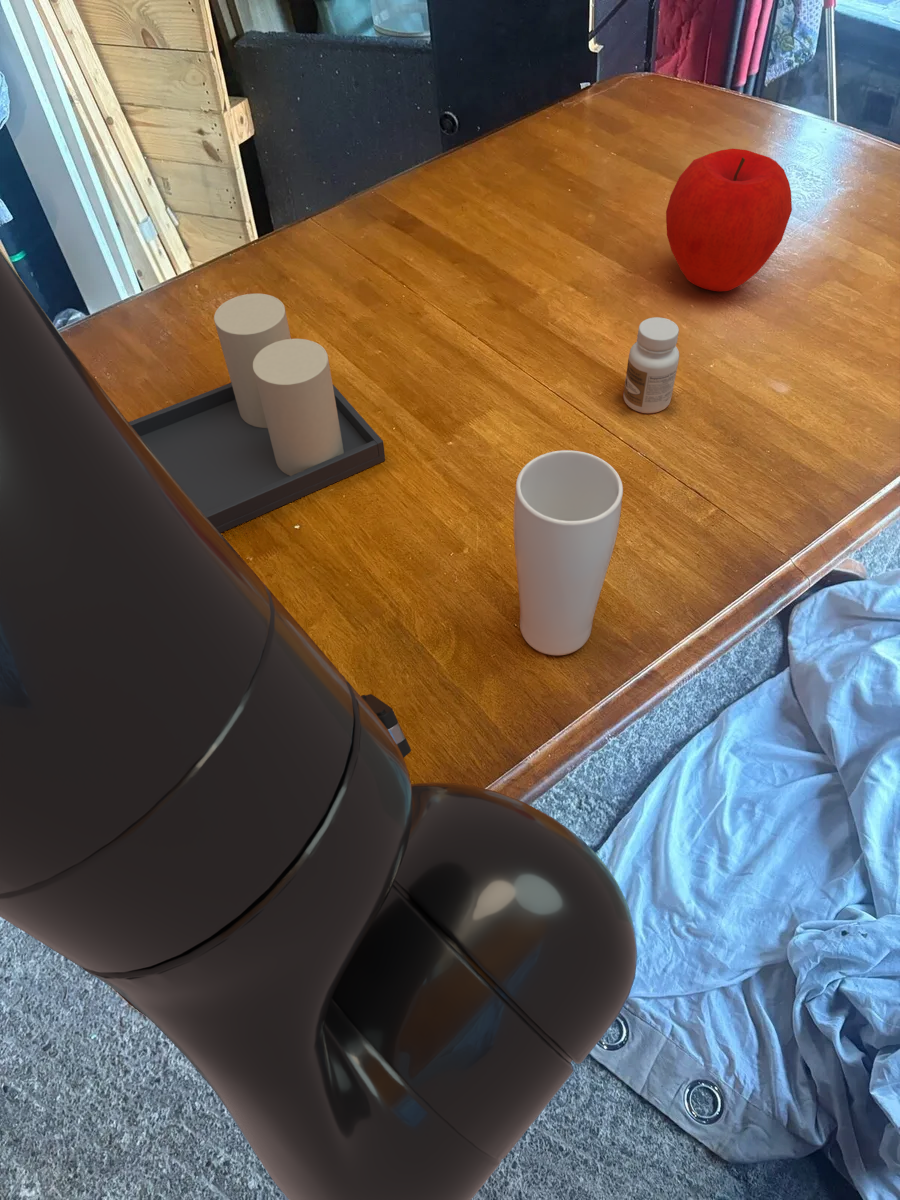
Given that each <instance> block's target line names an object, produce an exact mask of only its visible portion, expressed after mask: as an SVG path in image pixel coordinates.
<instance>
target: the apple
mask: <svg viewBox="0 0 900 1200" xmlns="http://www.w3.org/2000/svg"><path fill="white" fill-rule="evenodd" d="M792 202H793V201H792V189H791V185H790V181H789V179H788V176H787V174H786V172H785V169H784V168H783V167H782V166H781V165H780V164H779V163H778V162H777V161H776V160H775V159H773V158H771V157H769V156H766V155H763V154H760V153H757V152H754V151H751V150H748V149H742V148H741V149H740V148H727V149H726V148H725V149H721V150H717V151H714V152H711V153H708V154H705V155H702V156H700V157H697V158H695V159H693V160H692V161H691V162H690V164H689V165H688V166H687V167H686V168H685V170H683V172H682V173H681V174H680V175H679V176H678V179H677V181H676V183H675V185H674V187H673V190H672V192H671V194H670V196H669V200H668V204H667V207H666V210H665V218H666V219H665V223H666V225H665V226H666V237H667V240H668V244H669V247H670V250H671V253H672V254H673V257H674V259H675V261H676V263H677V265H678V267H679V270H680V271H681V273H682V274H683V275H684V277H685V278H686V280H687V281H689V282H690V283H691V284H693V285H695V286H697V287H699V288H701V289H704V290H709V291H711V292H712V291H713V292H729V291H731V290H733V289H735V288H738V287H740V286H742V285H743V284H745V282H747V281H749V280H750V279H751V278H752V277H753V276H755V275H756V274H757V273H758V272H759V271H760V270H761V269H762V268H763V267H764V265H765V264H766V263H767V262H768V260H769V259H770V258H771V256H772V255H773V253H774V252H775V250H776V249H777V248H778V246H779V245H780V244H781V242H782V241H783V237H784V235H785V232H786V228H787V226H788V223H789V220H790V217H791V214H792V212H793V205H792Z"/></svg>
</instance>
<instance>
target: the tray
mask: <svg viewBox="0 0 900 1200" xmlns="http://www.w3.org/2000/svg"><path fill="white" fill-rule="evenodd" d="M333 390H334V396H335V402H336V408H337V414H338V420H339V426H340V432H341V438H342V444H343V450H344V453H343V454H341V455H338V456H336V457H334V458H332V459H329V460H327V461H325V462H322V463H320V464H318V465H315V466H313V467H311V468H308V469H306V470H304V471H301V472H299V473H297V474H294V475H292V476H289V475H287V474H285V473H284V472H283V471H281V470H280V468H279V467H278V465H277V463H276V459H275V455H274V451H273V447H272V443H271V439H270V435H269V431H268V428H259V427H255V426H252V425H250V424H248V423H246V422H245V421H244V420H243V419H242V417H241V416H240V413H239V409H238V405H237V402H236V398H235V394H234V391H233V387H232V383H231V382H229V383H227V384H224V385H221V386H218V387H216V388H213V389H211V390H208V391H206V392H202V393H201V394H198V395H195V396H193V397H190V398H188V399H187V398H186V399H185V400H182V401H180V402H177V403H175V404H172V405H169V406H167V407H163V408H162V409H158V410H156V411H154V412H150V413H148V414H145V415H144V416H141V417H137V418H135V419H132V420H130V421H128V422H129V424H130V425H131V426H132V427H133V429H134V430H135V431H136V432H137V434H138V435H139V436H140V437H141V438H142V440H143V441H144V442H145V443H146V445H147V446H148V447H149V448H150V450H151V451H152V452H153V453H154V454H155V456H156V457H157V458H158V459H159V461H160V462H161V463H162V464H163V465H164V467H165V468H166V469H167V470H168V472H169V473H170V474H171V475H172V476H173V478H174V479H175V480H176V481H177V483H178V484H179V485H180V486H181V487H182V489H183V490H184V491H185V492H186V494H187V495H188V496H189V497H190V499H191V500H192V501H193V502H194V503H195V505H196V506H197V507H198V508H199V509H200V511H201V512H202V513H203V514H204V515H205V516H206V517H207V519H208V520H209V521H210V522H211V523H212V524H213V525H214V527H215V528H216V529H217V530H218V531H219V532H220V534H222V533H224V532H226V531H229V530H231V529H233V528H235V527H238V526H240V525H242V524H245V523H247V522H249V521H251V520H254V519H255V518H258V517H260V516H262V515H265V514H267V513H269V512H271V511H274V510H276V509H278V508H281V507H283V506H285V505H288V504H289V503H292V502H294V501H296V500H299V499H302V498H303V497H306V496H308V495H311V494H312V493H315V492H317V491H319V490H322V489H324V488H326V487H329V486H331V485H334V484H336V483H337V482H340V481H342V480H344V479H347V478H349V477H351V476H354V475H356V474H358V473H360V472H363V471H365V470H367V469H370V468H372V467H374V466H377V465H379V464H381V463H384V462H385V461H386V455H385V454H386V453H385V452H386V451H385V445H384V440H383V439H382V438H381V437H380V436H379V435H378V433H376V431H375V430H374V429H373V428H372V427H371V426H370V424H369V423H368V422H367V421H366V420H365V418H363V416H362V415H361V414H360V413H359V412H358V411H357V409H356V408H355V407H353V405H352V404H351V403H350V402H349V401H348V399H347V398H346V397H345V396H344V394H342V393H341V392H340V391H339V389H338V388H337V387H336V386H335V384H333Z"/></svg>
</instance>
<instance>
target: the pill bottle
mask: <svg viewBox="0 0 900 1200" xmlns="http://www.w3.org/2000/svg"><path fill="white" fill-rule="evenodd" d="M679 333H680V328H679V326H678V324H677V323H676V322H674V321H673V320H672V319H668V318H666V317H661V316H660V317H659V316H655V317H654V316H653V317H649V318H646V319H644V320H642V321H641V322H640V323H639V325H638V330H637V337H636V342H634V343H633V344H632V345H631V347H630V349H629V353H628V360H627V367H626V373H625V380H624V387H623V395H622V397H623V401H624V403H625V404H626V405H627V406H628V408H630V409H632V410H633V411H635V412H638V413H641V414H656V413H659V412H661V411H664V410H665V409H667V408H668V407H669V405H670V404H671V400H672V396H673V392H674V387H675V381H676V377H677V371H678V366H679V362H680V351H679V349H678V347H677V344H678V339H679Z"/></svg>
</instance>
